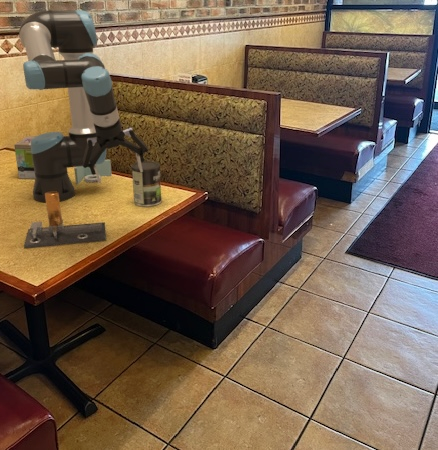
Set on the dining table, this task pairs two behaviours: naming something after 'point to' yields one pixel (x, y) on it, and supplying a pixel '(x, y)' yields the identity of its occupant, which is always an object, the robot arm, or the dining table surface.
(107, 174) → the l-shaped corner panel
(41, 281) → the dining table surface
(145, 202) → the coffee can
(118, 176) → the dining table surface
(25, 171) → the tea box
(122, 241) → the dining table surface
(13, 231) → the dining table surface
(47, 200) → the sliding jaw
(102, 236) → the plate
